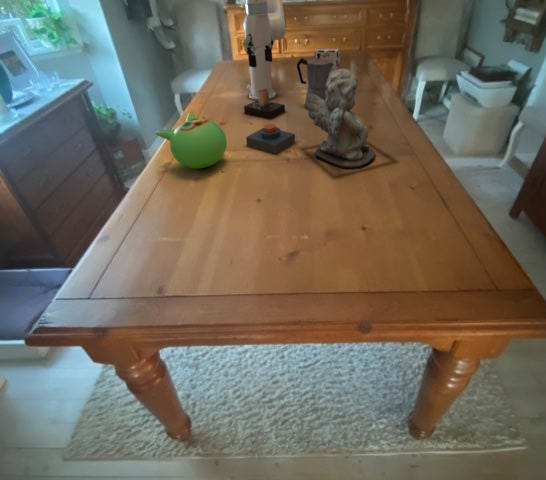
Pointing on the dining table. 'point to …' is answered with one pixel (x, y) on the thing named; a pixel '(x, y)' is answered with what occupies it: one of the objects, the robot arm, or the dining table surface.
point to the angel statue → (340, 123)
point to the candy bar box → (330, 57)
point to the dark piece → (270, 140)
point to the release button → (269, 128)
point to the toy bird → (196, 142)
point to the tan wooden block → (263, 98)
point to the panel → (264, 110)
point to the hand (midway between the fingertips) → (261, 64)
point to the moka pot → (315, 75)
